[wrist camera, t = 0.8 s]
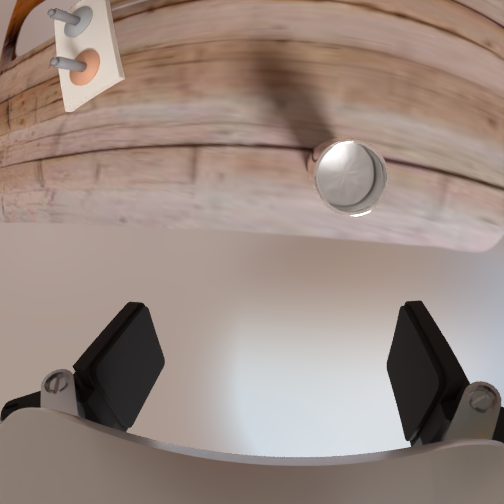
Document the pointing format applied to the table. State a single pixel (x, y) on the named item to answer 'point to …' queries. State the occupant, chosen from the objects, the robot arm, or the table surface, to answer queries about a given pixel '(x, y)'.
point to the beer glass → (348, 175)
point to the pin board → (86, 51)
